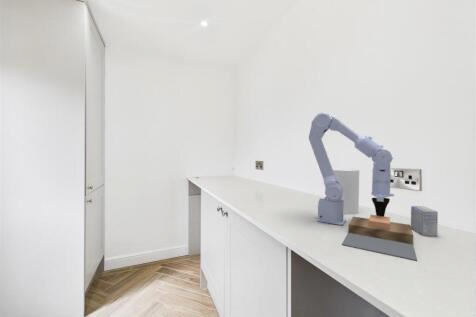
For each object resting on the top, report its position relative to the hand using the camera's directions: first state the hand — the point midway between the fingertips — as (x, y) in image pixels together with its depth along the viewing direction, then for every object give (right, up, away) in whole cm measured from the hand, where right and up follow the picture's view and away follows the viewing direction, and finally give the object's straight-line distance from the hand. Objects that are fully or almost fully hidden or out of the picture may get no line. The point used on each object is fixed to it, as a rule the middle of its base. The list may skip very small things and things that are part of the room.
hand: (380, 217), depth 86 cm
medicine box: (+12, -4, -5) cm, 14 cm away
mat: (-11, -4, -17) cm, 21 cm away
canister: (-2, -3, +25) cm, 26 cm away
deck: (-4, -4, -6) cm, 8 cm away
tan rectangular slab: (-4, -1, -6) cm, 7 cm away
